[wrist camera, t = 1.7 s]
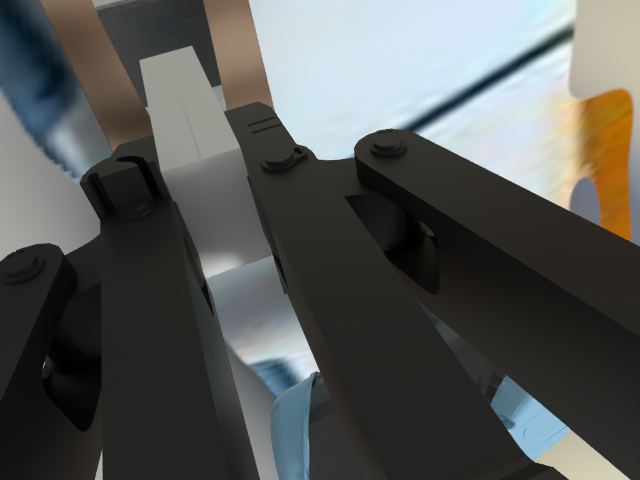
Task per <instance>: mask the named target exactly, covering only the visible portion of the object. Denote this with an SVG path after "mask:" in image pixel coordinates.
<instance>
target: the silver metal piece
mask: <svg viewBox="0 0 640 480" xmlns="http://www.w3.org/2000/svg"><path fill="white" fill-rule="evenodd" d="M92 1H93V4H94V7H95V9H96V12H97V15H98V17H99V19H100V21H101V23H102V25H103V27H104V29H105V31H106V33H107V35H108V37H109V39H110V41H111V43H112V45H113V47H114V49H115V51H116V53H117V55H118V57H119V59H120V61H121V63H122V65H123V66H124V68H125V70H126V72H127V74H128V76H129V78H130V80H131V82H132V84H133V86H134V88H135V90H136V92H137V94H138V96H139V98H140V100H141V102H142V104H143V106H144V108H146V110H147V112H148V114H149V116H150V113H149V108H148V103H147V98H146V92H145V87H144V82H143V77H142V72H141V67H140V61H139V60H142V59H146V58H149V57H153V56H156V55H160V54H164V53H167V52H171V51H174V50H178V49H182V48H185V47H189V46H192V47H193V49H194V51H195V54H196V56H197V58H198V60H199V62H200V64H201V66H202V68H203V70H204V72H205V74H206V77H207V79H208V81H209V83H210V85H211V87H212V89H213V91H214V93H215V95H216V97H217V100H218V102H219V104H220V106H221V108H222V110H223V112H224V111H227V108H226V104H225V99H224V95H223V90H222V86H221V85H222V83H221V78H220V74H219V69H218V65H217V60H216V56H215V51H214V47H213V42H212V38H211V33H210V29H209V24H208V20H207V15H206V11H205V6H204V2H203V0H92Z"/></svg>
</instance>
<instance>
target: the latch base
mask: <svg viewBox="0 0 640 480" xmlns="http://www.w3.org/2000/svg"><path fill="white" fill-rule="evenodd" d="M40 2H41V4H42V6H43V8H44V10H45V12H46V14H47V17H48V19H49V21H50V23H51V25H52V27H53V29H54V31H55V33H56V35H57V37H58V39H59V41H60V43H61V45H62V47H63V49H64V52H65V54H66V56H67V58H68V60H69V62H70V64H71V66H72V68H73V70H74V72H75V74H76V76H77V78H78V80H79V82H80V84H81V87H82V89H83V91H84V93H85V95H86V97H87V99H88V101H89V103H90V105H91V107H92V109H93V111H94V113H95V115H96V117H97V119H98V122H99V124H100V126H101V128H102V130H103V132H104V134H105V136H106V138H107V140H108V142H109V144H110V146H111V148H112V150H113V152H114V151H115V149H116V148H117V146H118V145H120V144H124V143H127V142H130V141H134V140H137V139H140V138H144V137H147V136H150V135H154V134H153V129H152V123H151V118H150V116H149V114H148V112H147V110H146V108H144V106H143V104H142V102H141V100H140V98H139V96H138V94H137V92H136V90H135V88H134V86H133V84H132V82H131V80H130V78H129V76H128V74H127V72H126V70H125V68H124V66H123V65H122V63H121V61H120V59H119V57H118V55H117V53H116V51H115V49H114V47H113V45H112V43H111V41H110V39H109V37H108V35H107V33H106V31H105V29H104V27H103V25H102V23H101V21H100V19H99V17H98V15H97V12H96V9H95V7H94V4H93V1H92V0H40ZM203 2H204V6H205V11H206V15H207V20H208V24H209V29H210V33H211V38H212V42H213V47H214V51H215V56H216V60H217V65H218V69H219V74H220V78H221V83H222V85H221V86H222V90H223V95H224V99H225V104H226V108H227V110H231V109H234V108H237V107H241V106H244V105H247V104H251V103H254V102H257V101H258V102H261V103H263V104H266V105H268V106H271V107H272V109H273V110H274V106H273V102H272V98H271V93H270V89H269V85H268V81H267V76H266V72H265V68H264V64H263V60H262V55H261V51H260V47H259V43H258V39H257V34H256V30H255V26H254V22H253V17H252V13H251V9H250V5H249V1H248V0H203ZM274 112H275V110H274Z"/></svg>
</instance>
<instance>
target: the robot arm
mask: <svg viewBox="0 0 640 480" xmlns="http://www.w3.org/2000/svg"><path fill="white" fill-rule="evenodd" d="M139 61H140V67H141V72H142V77H143V82H144V87H145V92H146V98H147V103H148V108H149V113H150V118H151V123H152V129H153V134H154V135H150V136H147V137H144V138H140V139H137V140H134V141H130V142H127V143H124V144H120V145H118V146H117V148H116V149H115V151H114V152H113V154H112V155H111V157H110V158H108V159H105V160H103V161H101V162H100V163H98V164H96V165H95V166H93V167H91V168H90V169H89V170H88V171H87V172H86V173H85V174H84V175H83V177H82V179H81V182H80V185H81V187H82V189H83V191H84V192H85V194H86V196H87V198H88V200H89V201H90V203H91V205H92V207H93V208H94V210H95V212H96V214H97V216H98V217H99V219H100V234H99V235H98V236H97V237H96V238H94V239H93V240H92V241H90V242H88V243H87V244H85V245H84V246H82V247H80V248H78V249H76V250H74V251H72V252H70V253H69V254H67V255H64V254H63V252H62V251H61V249H60V248H59V246H56V245H53V244H50V243H46V244H36V245H32V246H29V247H25V248H21V249H19V250H16V252H13V253H11V254H9V255H7V256H6V257H5V258H4V259H3V260H2V261H0V480H95V476H96V472H97V468H98V463H99V459H100V455H101V451H102V453H103V454H102V455H103V480H260V478H259V474H258V470H257V466H256V463H255V459H254V455H253V451H252V447H251V443H250V439H249V436H248V432H247V428H246V424H245V420H244V416H243V412H242V408H241V405H240V401H239V397H238V393H237V389H236V386H235V381H234V378H233V374H232V370H231V366H230V363H229V358H228V354H227V351H226V347H225V343H224V339H223V335H222V331H221V328H220V324H219V320H218V316H217V312H216V308H215V304H214V301H213V297H212V293H211V291H210V288H209V286H208V284H207V282H206V279H205V277H204V274H205V276H206V278H208V277H211V276H214V275H217V274H220V273H223V272H225V271H228V270H231V269H234V268H237V267H240V266H242V265H245V264H248V263H251V262H254V261H257V260H260V259H262V258H265V257H268V256H271V255H272V254H273V257H274V261H275V264H276V267H277V271H278V274H279V277H280V281H281V284H282V287H283V291H284V294H288V297H289V299H290V301H291V304H292V306H293V308H294V311H295V313H296V316H297V318H298V320H299V323H300V325H301V327H302V330H303V332H304V335H305V337H306V339H307V342H308V344H309V346H310V349H311V351H312V354H313V356H314V358H315V361H316V363H317V365H318V368H319V370H320V372H318V371H316V372H314V373H312V374H311V375H310V377H309V378H307V379H305V380H304V381H302V382H300V383H298V384H296V385H295V386H293V387H291V388H289V389H288V390H286V391H284V392H283V393H281V394H280V395H279V396H278V397H277V399H276V400H275V402H274V404H273V407H272V411H271V423H270V429H271V441H272V448H273V454H274V459H275V464H276V468H277V473H278V477H279V480H569V479H567V478H566V477H565V476H564V475H562V474H561V473H560V472H558V471H557V470H556V469H555V468H554V467H550V466H546V465H543V464H539V463H535V462H534V461H533V460H535V459H536V458H538V457H540V456H541V455H542V454H544V453H545V452H546V451H548V450H549V449H550V448H551V447H553V446H554V445H555V444H556V443H557V442H559V441H560V440H561V439H562V438H563V437H564V436H565V435H566V434H567V433H568V432H569V431H570V430H572V431H573V432H574V433H576V434H577V435H578V436H579V437H580V438H582V439H583V440H584V441H585V442H586V443H588V444H589V445H590V446H591V447H593V448H594V449H595V450H596V451H597V452H598V453H600V454H601V455H602V456H603V457H604V458H605V459H607V460H608V461H609V462H610V463H611V464H612V465H614V466H615V467H616V468H617V469H618V470H620V471H621V472H622V473H623V474H624V475H626V476H627V477H628V478H629V479H630V480H640V246H638V245H636V244H634V243H632V242H630V241H628V240H626V239H624V238H622V237H620V236H618V235H616V234H614V233H612V232H610V231H608V230H606V229H604V228H602V227H600V226H598V225H596V224H594V223H592V222H590V221H588V220H586V219H584V218H582V217H580V216H578V215H576V214H574V213H572V212H570V211H568V210H566V209H564V208H562V207H560V206H558V205H556V204H554V203H552V202H550V201H548V200H546V199H544V198H542V197H540V196H538V195H536V194H535V193H533V192H531V191H529V190H527V189H525V188H523V187H521V186H519V185H517V184H515V183H513V182H511V181H509V180H507V179H505V178H503V177H501V176H499V175H497V174H495V173H493V172H491V171H489V170H487V169H485V168H483V167H481V166H479V165H477V164H475V163H473V162H471V161H469V160H467V159H465V158H463V157H461V156H459V155H457V154H455V153H453V152H451V151H449V150H447V149H445V148H443V147H441V146H439V145H437V144H435V143H433V142H431V141H429V140H427V139H425V138H423V137H421V136H419V135H417V134H415V133H413V132H409V131H406V130H398V129H386V130H379V131H376V132H374V133H371V134H369V135H366V136H365V137H363V138H362V139H360V140H359V141H358V142H357V144H356V145H355V147H354V154H355V158H348V159H340V160H318V159H317V158H316V156H315V155H314V153H313V152H312V151H311V150H310V149H308V148H307V147H305V146H301V145H297V144H296V143H295V141H294V140H293V138H292V137H291V135H290V134H289V132H288V131H287V130H286V128H285V127H284V125H283V124H282V122H281V121H280V119H279V118H278V117H277V115H276V113H275V112H274V110H273V109H272V107H271V106H268V105H266V104H263V103H261V102H258V101H257V102H254V103H251V104H247V105H244V106H241V107H237V108H234V109H231V110H227V111H224V112H223V110H222V108H221V106H220V104H219V102H218V100H217V97H216V95H215V93H214V91H213V89H212V87H211V85H210V83H209V81H208V79H207V77H206V74H205V72H204V70H203V68H202V66H201V64H200V62H199V60H198V58H197V56H196V54H195V51H194V49H193V47H192V46H189V47H185V48H182V49H178V50H174V51H171V52H167V53H164V54H160V55H156V56H153V57H149V58H146V59H142V60H139ZM271 251H272V252H271ZM203 271H204V273H203ZM44 362H45V365H44ZM43 365H44V368H43ZM42 370H43V371H42Z"/></svg>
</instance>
